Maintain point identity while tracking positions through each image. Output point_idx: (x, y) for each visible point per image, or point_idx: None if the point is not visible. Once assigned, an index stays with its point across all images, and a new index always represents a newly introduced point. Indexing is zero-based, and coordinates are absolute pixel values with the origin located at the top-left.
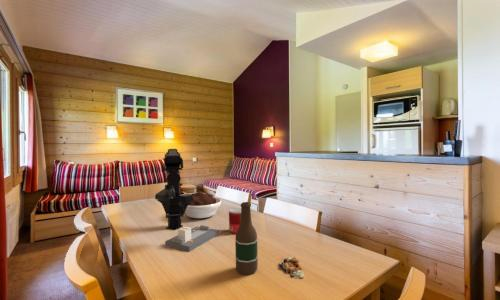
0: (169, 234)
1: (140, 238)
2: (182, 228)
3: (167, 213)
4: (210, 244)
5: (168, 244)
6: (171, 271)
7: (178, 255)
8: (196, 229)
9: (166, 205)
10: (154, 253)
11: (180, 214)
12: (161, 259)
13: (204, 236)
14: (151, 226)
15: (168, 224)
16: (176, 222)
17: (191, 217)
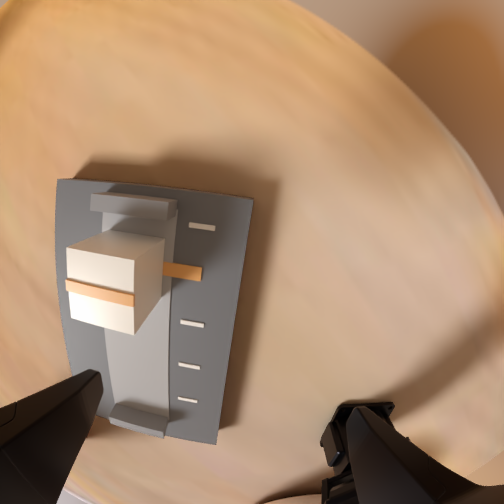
0: (336, 355)
1: (454, 254)
2: (113, 287)
3: (352, 422)
4: (43, 287)
5: (221, 194)
6: (69, 16)
7: (97, 116)
8: (186, 414)
9: (395, 502)
10: (241, 83)
11: (82, 382)
12: (154, 48)
13: (76, 334)
14: (458, 386)
15: (389, 422)
16: (342, 441)
17: (321, 494)
